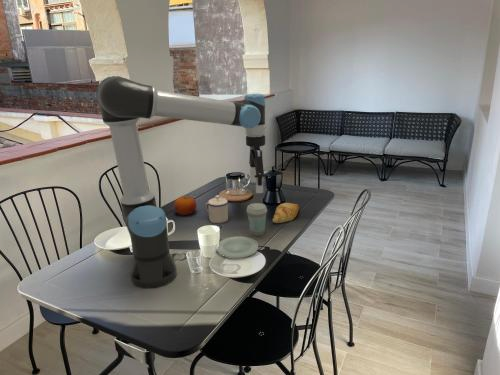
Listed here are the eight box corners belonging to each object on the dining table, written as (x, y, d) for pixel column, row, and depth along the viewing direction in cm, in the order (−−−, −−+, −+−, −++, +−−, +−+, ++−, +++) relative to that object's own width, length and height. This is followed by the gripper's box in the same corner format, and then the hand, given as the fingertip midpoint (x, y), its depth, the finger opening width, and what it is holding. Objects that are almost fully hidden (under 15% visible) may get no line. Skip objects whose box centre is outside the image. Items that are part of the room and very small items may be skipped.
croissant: (279, 233, 161) (286, 220, 157) (262, 219, 165) (268, 206, 160) (301, 216, 177) (309, 204, 173) (286, 203, 181) (292, 191, 176)
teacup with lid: (232, 218, 169) (231, 194, 166) (219, 225, 162) (218, 200, 159) (213, 213, 176) (212, 190, 172) (200, 219, 169) (198, 195, 165)
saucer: (217, 262, 132) (217, 257, 132) (215, 241, 147) (215, 238, 147) (261, 257, 135) (261, 253, 134) (254, 238, 150) (254, 234, 149)
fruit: (170, 214, 175) (168, 198, 173) (185, 207, 184) (184, 192, 181) (186, 219, 170) (185, 203, 167) (201, 211, 178) (200, 196, 175)
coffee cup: (249, 227, 159) (248, 202, 156) (268, 229, 158) (268, 203, 154) (245, 236, 151) (244, 209, 148) (265, 238, 150) (265, 210, 146)
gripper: (271, 140, 130) (272, 197, 137) (259, 129, 153) (260, 177, 160) (250, 142, 129) (252, 198, 136) (241, 130, 152) (243, 178, 159)
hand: (256, 187), depth 148 cm, fingers open, 13 cm apart
